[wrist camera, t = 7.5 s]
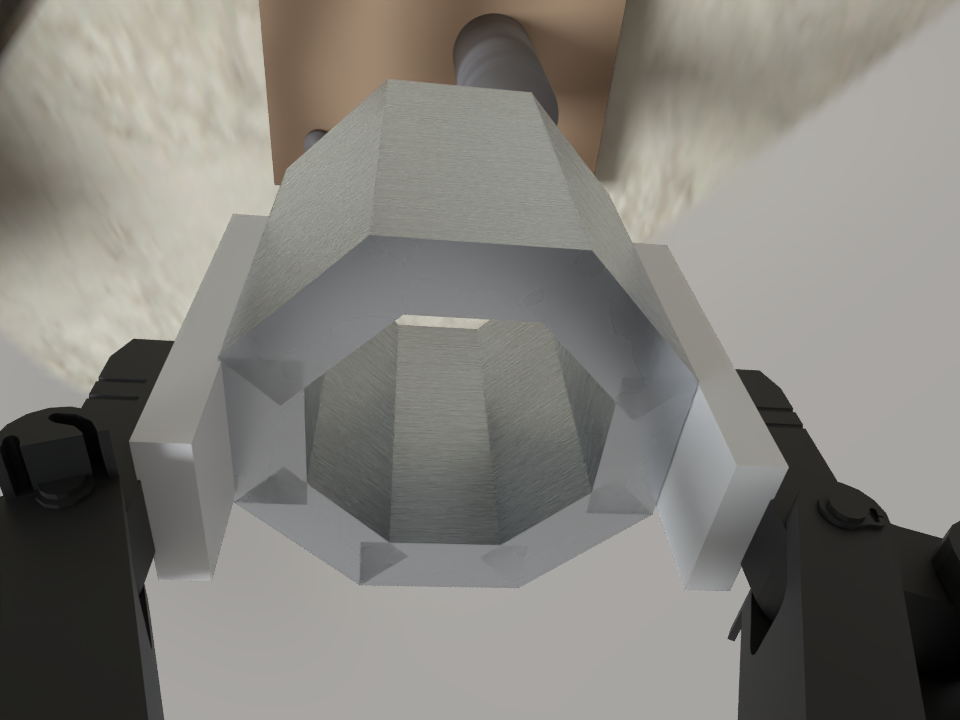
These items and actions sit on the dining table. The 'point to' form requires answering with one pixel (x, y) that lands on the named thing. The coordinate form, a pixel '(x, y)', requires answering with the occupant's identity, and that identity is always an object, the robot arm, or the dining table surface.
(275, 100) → the shaft block
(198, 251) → the dining table surface
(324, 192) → the hub
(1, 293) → the dining table surface
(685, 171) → the dining table surface
